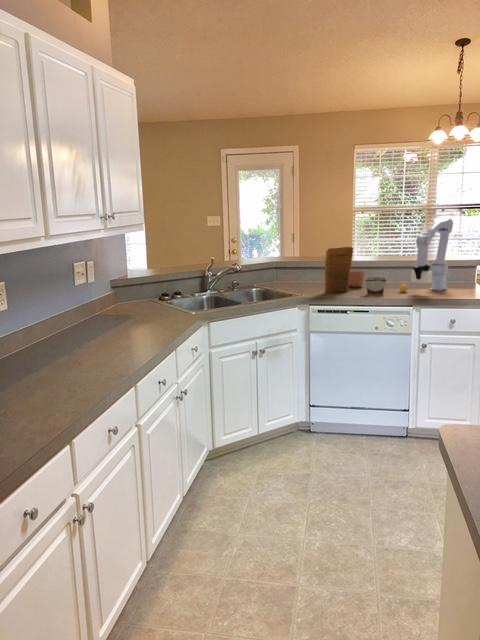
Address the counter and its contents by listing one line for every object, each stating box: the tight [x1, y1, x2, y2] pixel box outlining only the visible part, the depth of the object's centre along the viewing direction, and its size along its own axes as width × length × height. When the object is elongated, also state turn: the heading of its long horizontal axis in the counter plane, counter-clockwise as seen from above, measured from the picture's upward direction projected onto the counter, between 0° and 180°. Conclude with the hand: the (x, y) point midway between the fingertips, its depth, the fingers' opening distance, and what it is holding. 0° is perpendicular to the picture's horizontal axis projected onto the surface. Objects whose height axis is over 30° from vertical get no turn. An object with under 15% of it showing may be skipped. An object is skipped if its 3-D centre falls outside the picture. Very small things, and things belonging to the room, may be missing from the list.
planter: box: [348, 268, 366, 289], centre depth 342 cm, size 12×12×11 cm
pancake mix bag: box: [324, 246, 354, 294], centre depth 320 cm, size 7×19×28 cm, turn 104°
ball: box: [398, 283, 409, 293], centre depth 320 cm, size 5×5×5 cm
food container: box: [364, 276, 387, 296], centre depth 314 cm, size 12×6×10 cm, turn 84°
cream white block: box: [410, 269, 432, 284], centre depth 310 cm, size 6×10×6 cm, turn 43°
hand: (421, 278), depth 311 cm, fingers closed on cream white block, 6 cm apart
